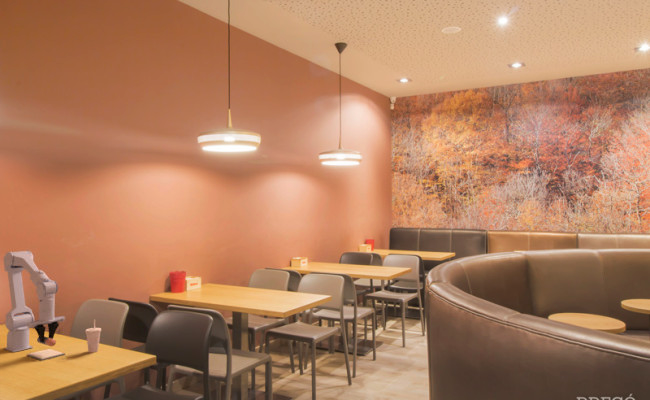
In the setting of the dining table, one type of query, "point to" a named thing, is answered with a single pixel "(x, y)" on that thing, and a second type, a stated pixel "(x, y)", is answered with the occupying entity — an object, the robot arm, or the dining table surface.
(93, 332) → the smoothie
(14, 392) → the dining table surface
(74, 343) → the dining table surface
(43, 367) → the dining table surface
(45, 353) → the notepad
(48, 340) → the marker
